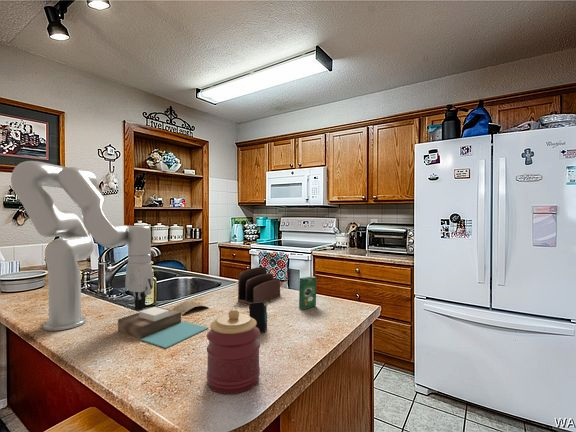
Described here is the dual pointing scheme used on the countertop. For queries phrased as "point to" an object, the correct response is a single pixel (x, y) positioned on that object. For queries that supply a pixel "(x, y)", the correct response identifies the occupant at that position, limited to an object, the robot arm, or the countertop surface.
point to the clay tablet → (185, 306)
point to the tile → (154, 314)
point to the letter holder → (257, 286)
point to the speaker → (259, 315)
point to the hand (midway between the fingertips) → (140, 308)
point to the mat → (174, 334)
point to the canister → (233, 353)
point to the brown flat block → (147, 324)
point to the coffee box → (307, 292)
